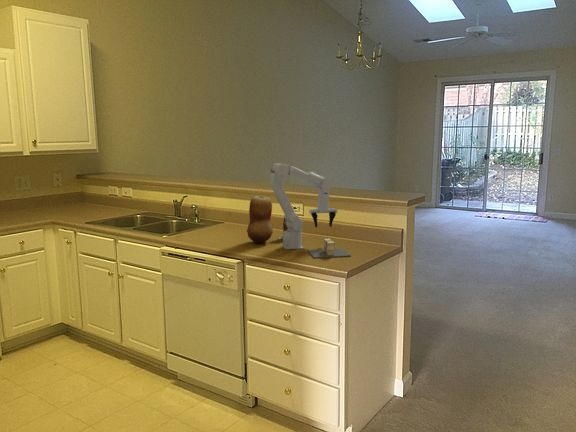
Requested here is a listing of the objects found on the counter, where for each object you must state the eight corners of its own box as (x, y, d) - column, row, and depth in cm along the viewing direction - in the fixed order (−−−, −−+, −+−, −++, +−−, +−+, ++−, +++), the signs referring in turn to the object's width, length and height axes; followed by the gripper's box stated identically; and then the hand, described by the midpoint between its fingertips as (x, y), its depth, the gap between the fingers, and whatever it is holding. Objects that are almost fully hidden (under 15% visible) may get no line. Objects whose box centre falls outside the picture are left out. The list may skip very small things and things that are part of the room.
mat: (314, 258, 231) (314, 257, 230) (307, 251, 244) (307, 250, 244) (351, 256, 234) (351, 255, 233) (342, 249, 247) (342, 248, 247)
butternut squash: (269, 246, 255) (268, 198, 250) (244, 245, 257) (243, 197, 253) (275, 240, 268) (274, 194, 264) (251, 239, 271) (250, 194, 266)
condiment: (293, 239, 269) (293, 218, 267) (278, 239, 270) (278, 217, 268) (295, 236, 276) (295, 215, 274) (280, 236, 277) (280, 215, 275)
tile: (323, 250, 242) (323, 238, 241) (329, 250, 243) (329, 238, 242) (328, 255, 234) (328, 243, 233) (334, 255, 234) (334, 242, 233)
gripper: (311, 202, 249) (311, 228, 251) (339, 201, 251) (338, 227, 254) (308, 200, 256) (308, 226, 258) (335, 199, 258) (335, 225, 261)
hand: (323, 226), depth 256 cm, fingers open, 7 cm apart
